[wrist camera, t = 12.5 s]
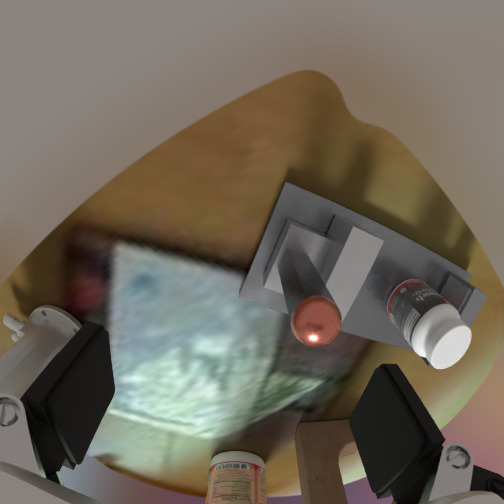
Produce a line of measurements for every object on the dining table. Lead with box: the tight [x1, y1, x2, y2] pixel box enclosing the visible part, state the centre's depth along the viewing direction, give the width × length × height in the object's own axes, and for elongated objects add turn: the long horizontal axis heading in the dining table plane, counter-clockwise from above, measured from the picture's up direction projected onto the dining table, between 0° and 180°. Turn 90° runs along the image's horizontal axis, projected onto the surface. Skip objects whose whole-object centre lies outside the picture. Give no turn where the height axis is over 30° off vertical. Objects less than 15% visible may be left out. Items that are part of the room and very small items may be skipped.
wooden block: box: [294, 419, 357, 504], centre depth 28 cm, size 9×4×18 cm, turn 87°
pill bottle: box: [387, 279, 471, 369], centre depth 24 cm, size 6×6×10 cm
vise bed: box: [239, 181, 488, 367], centre depth 26 cm, size 26×12×6 cm, turn 69°
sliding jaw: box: [263, 215, 384, 347], centre depth 20 cm, size 7×10×14 cm
